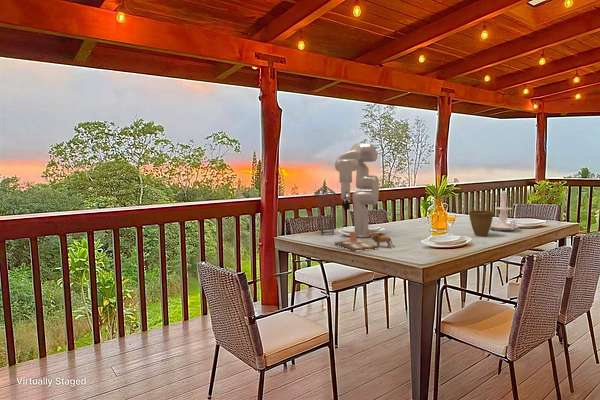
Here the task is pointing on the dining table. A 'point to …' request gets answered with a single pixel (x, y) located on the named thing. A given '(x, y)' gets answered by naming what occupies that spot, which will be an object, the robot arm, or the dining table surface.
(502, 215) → the candlestick
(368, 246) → the ticket board
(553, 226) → the dining table surface
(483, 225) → the plant pot
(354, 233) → the stub
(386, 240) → the lion figurine
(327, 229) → the geometric lantern
